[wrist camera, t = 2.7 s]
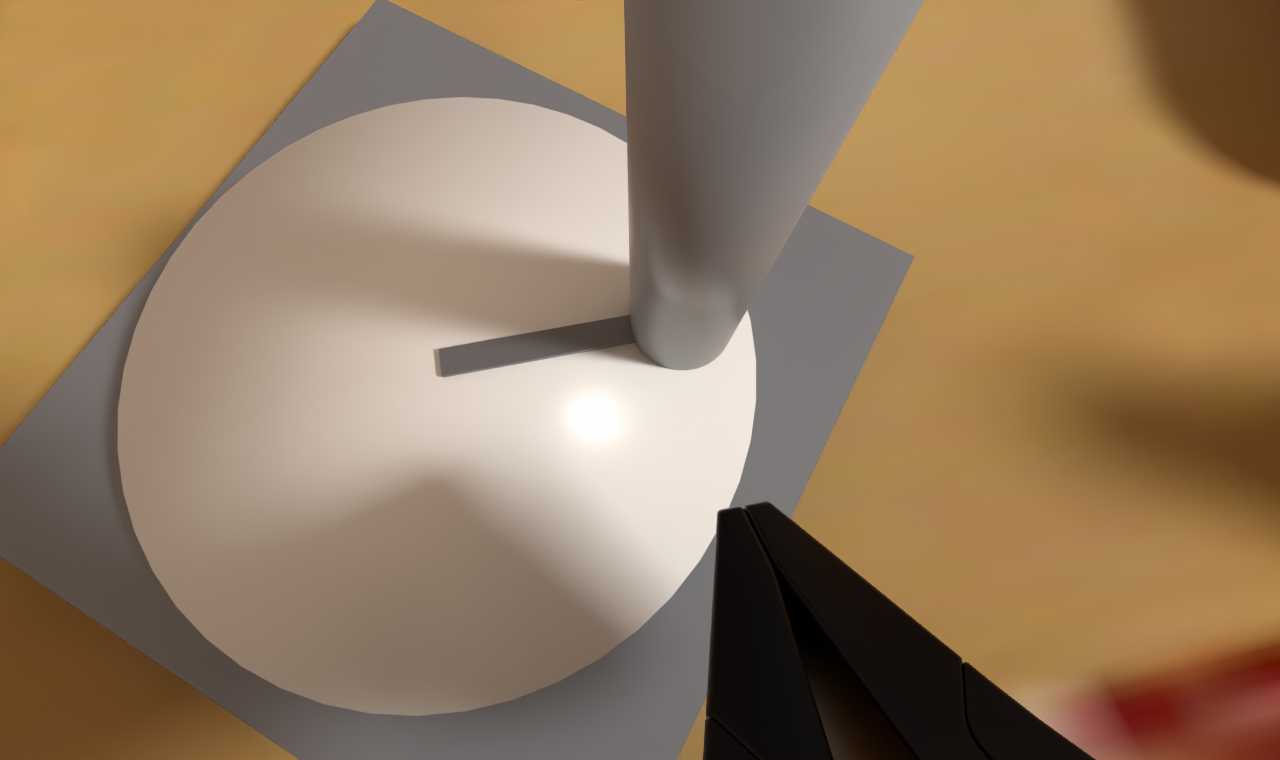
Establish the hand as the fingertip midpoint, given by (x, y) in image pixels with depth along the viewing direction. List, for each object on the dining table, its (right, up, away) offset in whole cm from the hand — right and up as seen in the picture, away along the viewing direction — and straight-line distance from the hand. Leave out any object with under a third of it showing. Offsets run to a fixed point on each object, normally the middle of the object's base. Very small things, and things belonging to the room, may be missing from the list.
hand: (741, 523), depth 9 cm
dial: (-7, +2, +8) cm, 11 cm away
